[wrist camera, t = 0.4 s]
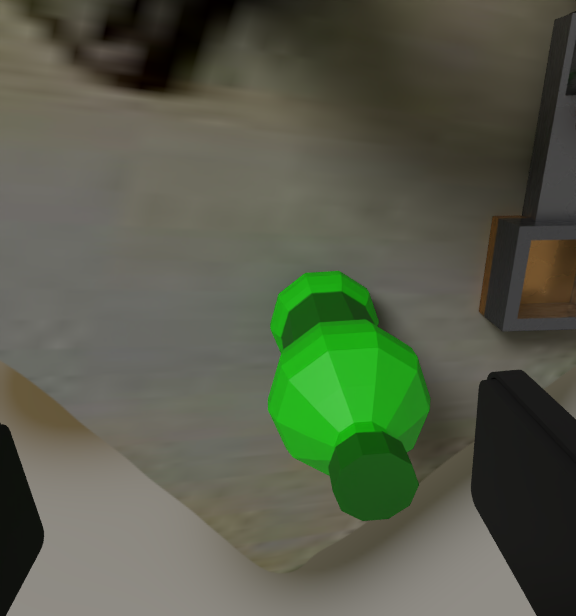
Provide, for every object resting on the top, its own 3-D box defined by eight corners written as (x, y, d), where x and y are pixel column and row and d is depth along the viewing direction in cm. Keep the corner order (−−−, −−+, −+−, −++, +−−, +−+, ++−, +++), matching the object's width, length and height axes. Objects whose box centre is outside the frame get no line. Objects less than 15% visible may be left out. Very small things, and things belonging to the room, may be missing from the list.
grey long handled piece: (521, 17, 38) (557, 1, 34) (635, 16, 39) (686, 1, 34) (478, 311, 48) (502, 331, 43) (571, 308, 48) (604, 328, 43)
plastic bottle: (245, 303, 46) (228, 483, 23) (331, 236, 44) (408, 356, 21) (308, 372, 49) (350, 593, 26) (391, 312, 47) (517, 492, 24)
